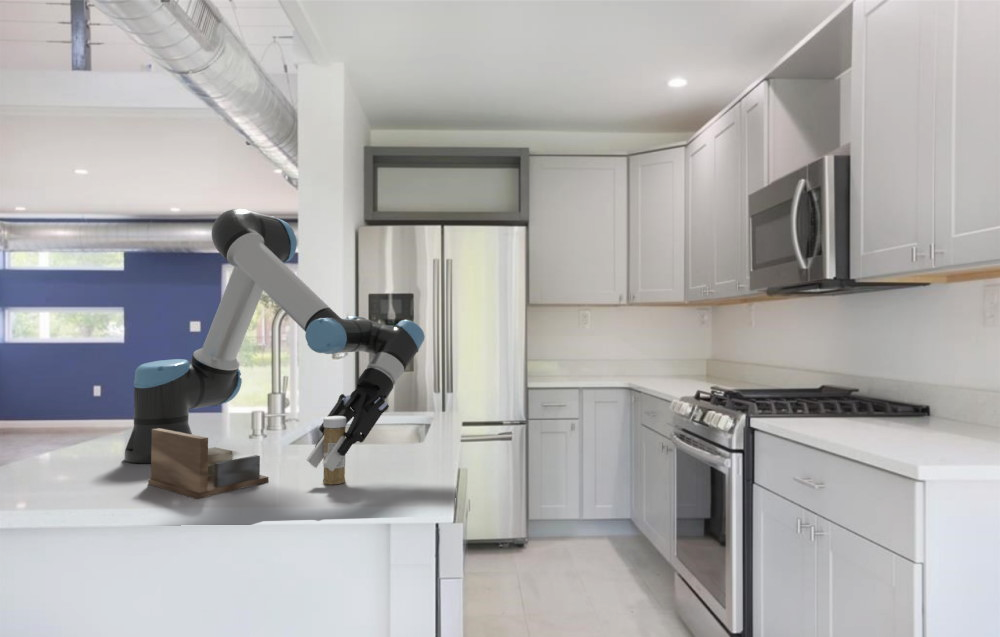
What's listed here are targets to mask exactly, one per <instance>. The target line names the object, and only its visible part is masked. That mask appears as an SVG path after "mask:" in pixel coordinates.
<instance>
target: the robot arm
mask: <svg viewBox="0 0 1000 637" xmlns="http://www.w3.org/2000/svg"><path fill="white" fill-rule="evenodd" d="M214 220H215V221H214V222H213V225H212V228H211V239H212V243H213V245H214V247H215V249H216V250H217V251H218V253H219V255H221V256H222V257H223V258H224V259H225V260H226V262H228V263H229V265H231V266H233V269H232V272H231V274H230V276H229V279H228V282H227V285H226V286H225V289H224V292H223V294H222V297H221V300H220V302H219V305H218V308H217V309H216V312H215V315H214V317H213V320H212V322H211V325H210V328H209V331H208V333H207V335H206V337H205V340H204V342H203V345H202V347H201V348H199V349H196V350H195V351H194V352H193V353H192V356H191V360H190V361H189V360H187V359H183V358H182V359H181V358H176V359H175V358H174V359H165V360H162V359H161V360H155V361H150V362H145V363H142V364H139V366H137V367H136V369H135V371H134V381H133V393H134V394H133V426H132V427H133V428H132V430H131V434H130V436H129V439H128V441H127V443H126V447H125V449H124V461H125V462H127V463H132V464H151V445H152V429H158V428H161V429H166V430H171V431H176V432H181V433H186V434H191V435H193V432H192V430H191V427H190V425H189V424H190V423H189V413H190V412H189V410H195V409H200V408H209V407H211V408H212V407H218V406H221V405H224V404H227V403H229V402H231V401H233V399H234V398H235V397H236V396H237V395H238V393H239V392H240V389H241V387H242V382H243V381H242V380H243V379H242V378H241V375H242V373H241V370H240V362H239V361H238V359H237V356H238V354H239V352H240V349H241V346H242V344H243V341H244V339H245V336H246V335H247V332H248V330H249V327H250V324H251V322H252V319H253V316H254V315H255V312H256V309H257V307H258V304H259V302H260V299H261V297H262V294H263V292H264V293H266V294H267V295H268V296H269V297H270V298H271V299H272V300H273V301H274V303H276V304H277V305H278V307H280V308H281V309H282V310H283V311H284V312H285V313H286V315H288V316H289V317H290V318H291V319H292V320H293V321H294V323H296V324H297V325H298V327H300V328H301V329H302V330H303V331H304V332H305V335H304V336H305V340H306V342H307V346H308V348H309V349H311V351H314V352H315V353H318V354H325V355H333V354H340V353H355V352H357V353H358V352H362V353H363V352H364V353H367V354H371V355H374V356H373V357H372V359H371V360H370V362H369V363H368V364H367V366H366V368H365V369H364V370H363V372H362V373H361V374H360V376H359V377H358V378H357V381H356V384H357V385H356V389H354V390H353V391H352V392H351V393H350V395H345V394H344V393H341V394H340V395H339V396H338V399H337V401H336V403H335V405H334V406H333V407H332V409H331V410H330V412H329V413H328V415H327V416H326V417H329V416H344V417H346V425H347V424H348V423H349V422H350V421H351V422H350V424H349V426H348V429H347V431H345V433H343V434H344V435H345V437H343V436H341V437H340V439H339V440H338V442H337V443H336V444H335V446H334V447H333V449H332V450H331V452H330V453H329V455H328V456H327V458H326V459H325V461H324V462H322V460H323V459H324V428H325V427H324V426H323V422H322V423H321V425H320V426H319V428H318V430H319V431H320V432H321V434H322V436H321V437H320V438H319V440H318V441H317V442H316V443H315V446H314V448H313V450H312V451H311V452H310V454H309V455H308V457H307V458H306V461H307V462H308V463H309V464H310V465H311V466H312V467H313V468H314V469H315V468H316V469H317V468H318V466H319V464H320V463H321V462H322V464H324V465H325V466H326V467H327V468H328V469H329V470H330V471H333V470H334V469H335V467H336V466H337V464H338V463H339V461H340V460H341V458H342V457H343V456H344V455H345V456H346V454H348V452H349V450H350V448H351V447H352V446H353V445H354V444H356V443H357V442H359V443H363V442H364V441H365V440H366V438H367V436H369V434H370V432H371V431H372V430H373V428H374V426H375V425H376V423H377V422H378V421H379V420H380V418H381V416H382V415H383V414H384V413H385V411H387V410H388V409H389V407H390V406H389V404H388V403H387V401H385V400H387V398H388V397H389V396H390V394H391V392H392V391H393V389H394V387H395V386H396V384H397V383H398V381H399V379H400V378H401V377H402V375H403V374H404V372H405V371H406V369H407V367H408V366H409V365H410V363H411V362H412V360H413V359H414V357H415V356H416V354H418V352H419V350H420V348H421V347H422V345H423V343H424V341H425V336H426V335H425V333H424V331H423V329H422V327H421V326H420V325H419V324H417V323H416V322H414V321H412V320H410V319H404V320H400V321H399V322H398V323H396V324H395V326H392V325H387V324H383V323H379V322H376V321H373V320H370V319H366V318H365V317H361V316H360V317H359V316H355V315H349V316H346V318H341V317H340V316H339V315H338V314H337V313H336V312H335V311H334V310H332V308H331V307H330V306H328V304H326V302H325V301H323V299H321V298H320V297H319V296H318V295H317V294H316V292H314V291H313V290H312V289H311V288H310V287H309V286H308V284H306V283H305V282H304V280H302V279H300V277H298V275H296V274H295V272H293V270H292V269H291V268H289V267H288V266H287V265H286V263H288V262H290V260H292V259H293V257H294V256H295V254H296V251H297V246H298V244H297V243H298V242H297V241H298V240H297V237H296V236H297V235H296V234H295V231H294V229H293V228H292V226H291V225H290V224H289V223H288V222H286V221H284V220H283V219H281V218H277V217H276V216H273V215H272V216H271V215H267V214H265V213H264V214H263V213H259V212H256V211H250V210H247V209H244V208H234V209H233V208H232V209H229V210H226V211H225V212H222V213H221V214H220V215H218V217H217V218H216V219H214Z"/></svg>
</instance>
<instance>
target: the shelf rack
mask: <svg viewBox="0 0 1000 637" xmlns="http://www.w3.org/2000/svg"><path fill="white" fill-rule="evenodd" d="M150 464H151V465H150V478H148V479H147V480H148V485H149V486H152V487H156V488H160V489H163V490H165V491H169V492H172V493H176V494H179V495H183V496H186V497H189V498H193V499H196V500H198V499H203V498H207V497H212V496H216V495H219V494H223V493H228V492H231V491H232V492H233V491H235V490H240V489H243V488H248V487H251V486H252V487H253V486H257V485H260V484H265V483H269V476H266V475H262V474H260V473H261V471H260V468H261V457H260V455H258V454H256V455H250V456H244V457H240V458H234V459H233V450H231V449H225V448H221V447H215V446H214V447H209V437H207V436H200V435H195V434H192V435H191V434H186V433H181V432H176V431H171V430H166V429H161V428H158V429H152V445H151V463H150Z"/></svg>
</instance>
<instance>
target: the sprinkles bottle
mask: <svg viewBox="0 0 1000 637" xmlns="http://www.w3.org/2000/svg"><path fill="white" fill-rule="evenodd" d="M322 423H323V426H324V427H325V428H324V458H323V459H322V460H323V462H324V461H325V459H326V458H327V456H328V455H329V453H330V452H331V450H332V449H333V447H334V446H335V444H336V443H337V442H338V440H339V439H340V437H341V436H343V437H345V435H344V434H343V433H345V432H346V426H347V424H346V417H344V416H329V417H327V416H325V417H324V418H323V421H322ZM345 438H346V437H345ZM323 462H322V464H323ZM345 474H346V454H345V455H344V456H343V457H342V458H341V460H340V461H339V463H338V464H337V466H336V467H335V469H334V470H333V471H330V470H329V469H328V468H327V467H326V466H325V465H324V464H323V479H322V483H323V484H324V485H333V484H334V485H340V484H343V483H345V482H346V477H345Z"/></svg>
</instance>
